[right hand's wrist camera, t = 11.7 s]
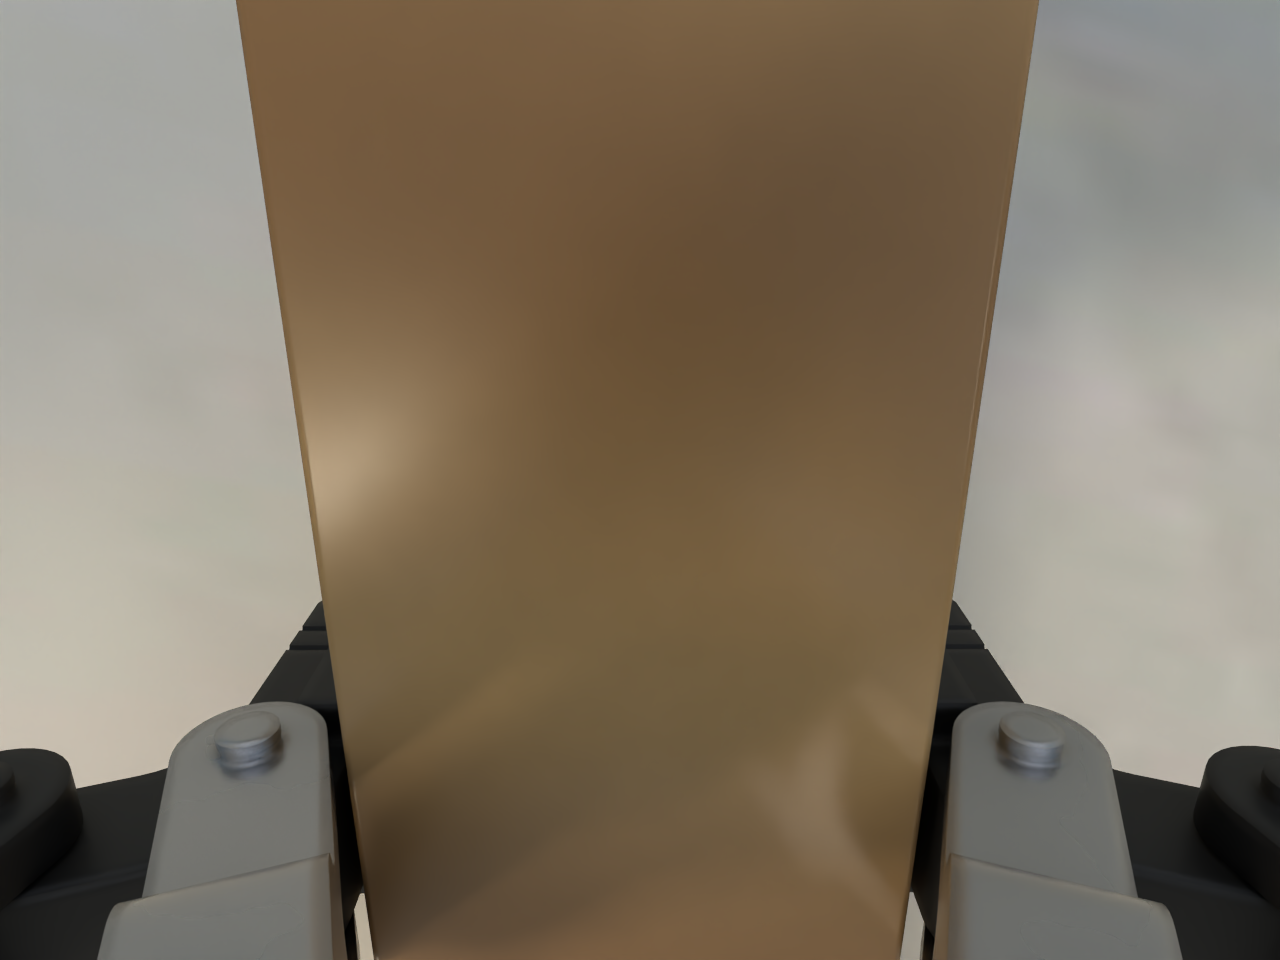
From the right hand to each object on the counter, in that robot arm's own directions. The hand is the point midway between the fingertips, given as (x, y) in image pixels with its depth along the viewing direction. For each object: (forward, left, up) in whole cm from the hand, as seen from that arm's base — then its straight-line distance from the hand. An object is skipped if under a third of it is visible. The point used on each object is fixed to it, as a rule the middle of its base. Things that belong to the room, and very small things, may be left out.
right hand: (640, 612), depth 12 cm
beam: (-22, -16, -2) cm, 27 cm away
